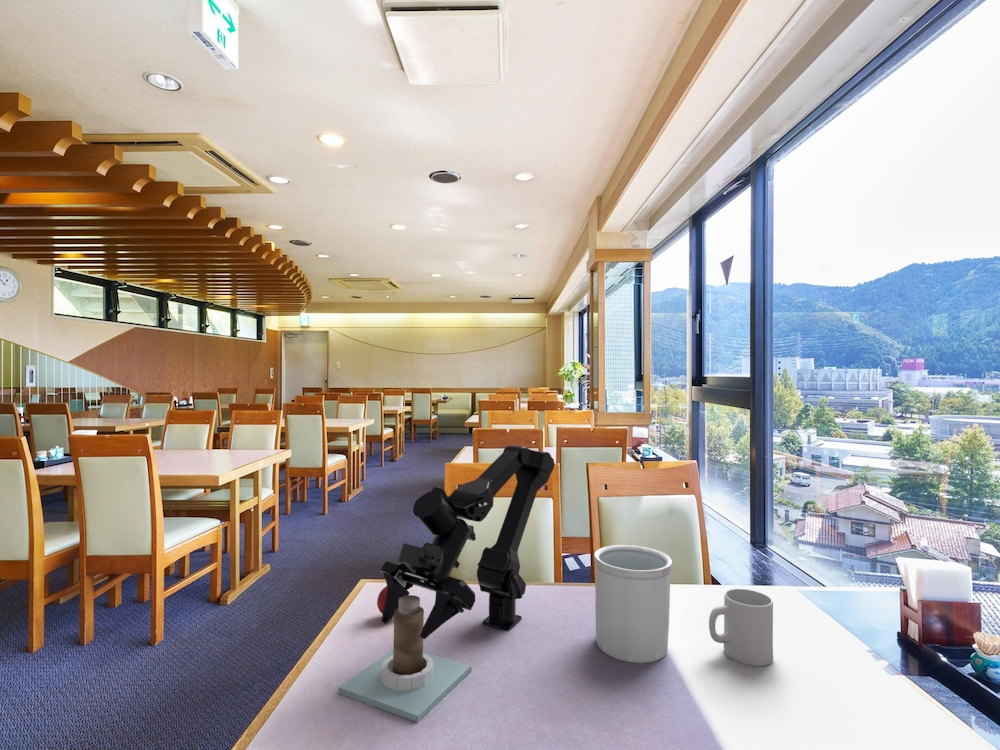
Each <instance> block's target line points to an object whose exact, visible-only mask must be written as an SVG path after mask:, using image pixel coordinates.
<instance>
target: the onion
mask: <svg viewBox="0 0 1000 750" xmlns="http://www.w3.org/2000/svg"><path fill="white" fill-rule="evenodd" d="M386 595H387V585H386V586H385V587H383V588H382V589H381V590H380V592H379V594H378V596H377V601H376V604H377V605H376V606H377V609H378V610H379V612H380V613H381V614H382V615H383V610H384V605H385V601H386ZM391 619H394V615H393V616H392V618H391Z"/></svg>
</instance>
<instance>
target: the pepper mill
mask: <svg viewBox="0 0 1000 750" xmlns="http://www.w3.org/2000/svg"><path fill="white" fill-rule="evenodd" d="M424 612H425V611H424V608H423V607H421V598H420V596H417V595H413V594H412V595H410V594H409V595H407V596H403V597H401V598H399V608H397V609H396V610H395V611H394V617H393V645H392V646H393V648H392V649H393V673H395V674H398V675H412V674H415V673H418V672H421V671H422V669H423V652H424V639H422V638H421V637H420V634H421V632H422V629H423V627H424V623H425V622H424V619H425V618H424V616H425V613H424Z"/></svg>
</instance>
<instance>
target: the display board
mask: <svg viewBox="0 0 1000 750" xmlns="http://www.w3.org/2000/svg"><path fill="white" fill-rule="evenodd" d="M470 673H472V665H470V664H466V663H463V662H459V661H456V660H454V659H453V660H452V659H449V658H445V657H442V656H439V655H435V654H432V653H429V652H426V651H423V669H422V671H421V672H418V673H415V674H412V675H398V674H395V673H393V648H392V649H391V650H389V651H388V652H387V653H384V655H382V656H380V657H379V658H378V659H376V660H375V661H374V662H372V663H371V664H369V665H368V666H367V667H365V668H363V669H362V670H361V671H359V672H358V673H356V674H355V675H354V676H352V677H351V678H349V679H348V680H346V681H345V682H343V683H342V684H341V685H339V686H338V687H337V688H338V694H340V695H342V696H344V697H348V698H350V699H354V700H355V701H356V700H357V701H359V702H362V703H365V704H367V705H369V706H373V707H375V708H377V709H381V710H383V711H386V712H389V713H391V714H393V715H397V716H399V717H402V718H404V719H407V720H410V721H413V722H416V723H419V722H420V721H421V720H422V719H423V718H424V717H425V716H426V715H427V714H428V713H430V712H431V711H432V710H433V709H434V708H435V707H436V706H437V704H439V703H440V702H441V701H442V700H443V699H445V698H446V696H448V694H450V693H451V691H453V689H454V688H455V687H457V686H458V685H459V684H460V683H461V682H462V681H463V680H464V679H465V678H466V677H468V675H469V674H470Z"/></svg>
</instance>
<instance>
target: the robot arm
mask: <svg viewBox="0 0 1000 750" xmlns="http://www.w3.org/2000/svg"><path fill="white" fill-rule="evenodd" d="M554 469H555V460H554V458H553V457H552V455H551V453H550V452H548V451H540V450H533V449H530V448H528V447H526V446H521V445H513V444H512V445H507V446H505V447H504V449H503V452H502V453H501V454H499V456H498V457H497V458H495V460H494V461H493V462H492V463H491V464H490V465H489V466H488V467H487V468H486V469H485V470H484V471H483V472H482V473H481V474H480V475H479V476H478V477H477V478H475V479H474V480H470V481H468V482H467V481H466V482H464V483H462V484H461V485H460V486H458V487H457V488H456V489H454V490H452V493H451V494H449V495H447V492H446V491H445V489H444V488H443V487H438V486H433V488H432V489H431V491H428V492H425V493H423V494H422V495H421V496H420V497H419V498H417V499H416V500H415V502H414V504H413V508H412V513H413V514H414V516H415V517H416V519H418V520H419V522H420V523H421V524H422V525H423V526H424V527H425V528H426V530H427V531H428V532H429V533H430V534H432V535H434V537H433V538H432V540H431V542H430V543H429V542H425V543H424V544H423V545H422V547H420V546H416V545H413V544H412V545H411V544H408V543H402V546H401V548H400V552H399V556H398V558H397V560H394V559H387V560H385V562H384V564H383V565H382V567H381V569H380V571H379V572H380V573H381V574H382V578H383V580H384V581H385V582H386V583H385V584H386V586H387V595H386V601H385V605H384V610H383V614H382V615H381V620H380V622H381V623H383V624H384V625H387V623H388V622H389V621H390V620H391V619H393V618H392V616H393V615H394V611H395V610H396V609H397V608H399V598H401V597H403V596H407V595H410V593H411V592H410V591H408V590H410V589H411V588H413V587H414V586H416V587H420V588H423V589H427V590H428V591H429V590H430V591H432V592H435V601H434V602H435V603H434V605H433V607H432V609H431V611H430V613H429V615H428V616H427V618H426V621H425V622H424V624H423V629H422V632H421V634H420V637H421V638H422V639H423V640H426V639H427V638H428V637H429V636H430V635H432V634H433V633H434V632H436V630H438V629H439V628H440V627H441V626H443V625H444V624H445V623H447V621H449V620H451V619H452V618H454V617H455V616H456V615H458V614H459V613H460V614H463V613H464V612H465V610H467V611H472V609H473V607H474V604H475V602H476V593H475V591H474V590H473V589H472V588H471V587H470V586H469V585H468V584H467V583H466V581H464V580H463V579H460V578H457V577H453V576H450V574H451V572H452V571H453V569H458V568H459V566H460V565H461V564H460V562H459V561H458V560H459V559H458V558H459V557H460V555H461V553H462V551H463V549H464V547H465V546H466V545H465V544H466V543H467V541H472V542H473V541H476V533H475V528H474V526H473V525H470V524H468V523H467V522H466V521H465V520H467V521H468V520H469V521H472V522H479V523H480V522H482V521H484V520H485V519H486V517H487V516H488V514H489V513H490V511H491V510H492V508H493V507H494V497H495V496H496V495H497V493H498V492H500V490H501V489H502V488H503V487H504V486H505V485H506V484H507V482H508V481H510V479H511V478H512V477H513V476H515V479H516V486H515V488H514V491H513V493H512V494H513V495H512V496H511V500H510V502H509V506H508V507H507V508H508V509H507V511H506V514H505V516H504V520H503V523H502V524H501V528H500V531H499V534H498V537H497V539H496V542H495V543H494V544H493V545H492V546H491V547H486V546H485V548H484V549H483V550H482V554H481V557H480V559H479V561H478V563H477V570H476V578H477V581H478V586H479V589H480V592H484V593H487V594H488V616H487V617H485V618H484V619H483V620H482V624H483V625H485V626H490V627H493V628H498V629H502V630H505V631H510V630H511V629H512V628H513V627H514V626H516V625H517V624H518V623H519V622H520V621H521V620H522V615H519V614H517V613H516V610H517V605H516V603H517V602H516V600H521V599H523V595H525V593H526V588H527V583H526V581H525V580H524V579H523V578H522V577H521V575H520V569H521V564H520V559H519V553H518V552H519V548H520V545H521V541H522V539H523V536H524V534H525V530H526V527H527V523H528V521H529V518H530V514H531V511H532V509H533V506H534V502H535V499H536V496H537V494H538V491H539V490H540V489H541V488H543V487H544V486H545V485H546V484H547V483H548V482H549V479H550V477H551V475H552V473H553V471H554ZM405 563H407V564H408V565H409V566H407V565H406V564H405ZM412 570H413V571H415V572H413V571H412Z"/></svg>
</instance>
